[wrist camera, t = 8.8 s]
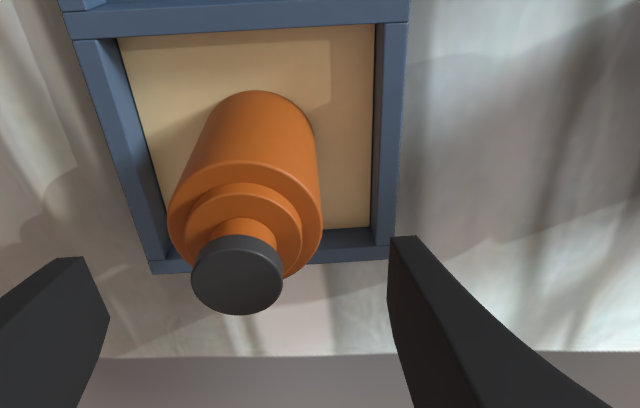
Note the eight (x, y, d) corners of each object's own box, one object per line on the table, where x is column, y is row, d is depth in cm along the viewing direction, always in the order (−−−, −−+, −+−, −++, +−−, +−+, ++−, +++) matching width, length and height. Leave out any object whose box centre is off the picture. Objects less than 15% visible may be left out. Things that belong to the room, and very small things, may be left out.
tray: (384, 231, 20) (393, 259, 19) (164, 245, 20) (151, 275, 19) (422, -510, 9) (452, -611, 8) (-66, -495, 9) (-151, -596, 7)
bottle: (334, 161, 18) (358, 306, 11) (244, 206, 18) (216, 364, 12) (277, 67, 15) (265, 174, 9) (179, 124, 16) (100, 260, 10)
